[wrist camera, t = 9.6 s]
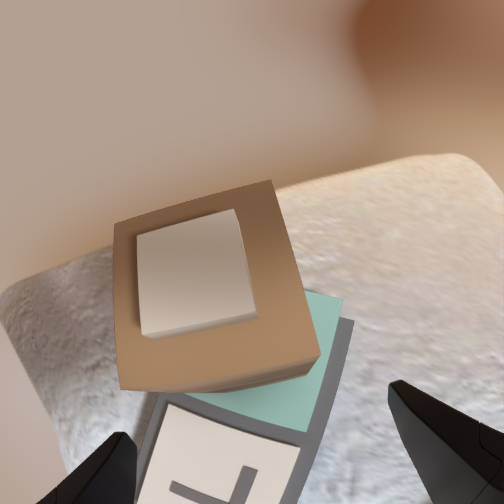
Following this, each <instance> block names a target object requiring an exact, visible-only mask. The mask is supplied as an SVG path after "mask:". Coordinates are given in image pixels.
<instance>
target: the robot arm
mask: <svg viewBox="0 0 504 504" xmlns="http://www.w3.org/2000/svg"><path fill="white" fill-rule="evenodd" d="M388 404H389V407H390V410H391V413H392V415H393V418H394V421H395V423H396V426H397V429H398V432H399V435H400V437H401V440H402V442H403V444H404V446H405V448H406V450H407V452H408V454H409V456H410V458H411V460H412V462H413V464H414V466H415V468H416V470H417V472H418V474H419V476H420V478H421V480H422V482H423V484H424V486H425V488H426V490H427V492H428V494H429V496H430V498H431V500H432V502H433V504H504V433H502V432H499V431H497V430H495V429H493V428H491V427H489V426H487V425H485V424H483V423H479V421H477V420H475V419H473V418H471V417H469V416H467V415H465V414H464V413H462V412H460V411H458V410H456V409H454V408H452V407H450V406H449V405H447V404H445V403H443V402H441V401H439V400H437V399H436V398H434V397H432V396H430V395H428V394H427V393H425V392H423V391H421V390H419V389H417V388H416V387H414V386H412V385H410V384H409V383H407V382H405V381H403V380H397V381H394V382H391V383H390V384H389V386H388ZM136 481H137V446H136V444H135V443H134V442H133V441H132V439H131V438H130V437H129V436H128V434H127V433H125V432H114V433H113V434H112V435H111V436H110V437H109V438H108V439H107V440H106V441H105V442H104V443H103V444H102V445H100V446H99V447H98V448H97V449H96V450H95V451H94V452H93V453H92V454H91V455H90V456H89V457H88V458H87V459H86V460H85V461H84V462H82V463H81V464H80V465H79V466H78V467H77V468H76V469H75V470H74V471H73V472H72V473H71V474H70V475H68V476H67V477H66V478H65V479H64V480H63V481H62V482H61V483H60V484H59V485H57V487H55V488H54V489H53V490H52V491H51V492H50V493H48V494H47V495H46V496H45V497H44V498H43V499H41V500H40V501H39V502H38V503H36V504H134V499H135V492H136Z"/></svg>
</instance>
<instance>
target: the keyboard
mask: <svg viewBox="0 0 504 504" xmlns="http://www.w3.org/2000/svg"><path fill="white" fill-rule="evenodd" d="M304 292H305V295H306V299H307V303H308V306H309V310H310V314H311V317H312V321H313V325H314V328H315V332H316V336H317V340H318V344H319V347H320V351H321V355H320V357H319V358H318V360H317V361H316V363H315V364H314V365H313V367H312V368H311V370H310V371H309V373H308V374H307V375H306V376H304V377H300V378H296V379H292V380H287V381H283V382H279V383H274V384H270V385H265V386H260V387H255V388H250V389H245V390H239V391H234V392H228V393H167V392H159V395H158V398H157V401H156V404H155V407H154V410H153V413H152V416H151V419H150V422H149V425H148V428H147V431H146V435H145V438H144V441H143V444H142V447H141V450H140V454H139V457H138V460H137V481H136V492H135V499H134V504H297V501H298V499H299V497H300V494H301V492H302V490H303V487H304V485H305V482H306V480H307V477H308V475H309V472H310V470H311V467H312V464H313V462H314V459H315V456H316V453H317V451H318V448H319V445H320V442H321V439H322V436H323V434H324V431H325V428H326V424H327V421H328V418H329V415H330V412H331V409H332V405H333V402H334V399H335V395H336V392H337V389H338V385H339V381H340V378H341V374H342V370H343V367H344V363H345V359H346V355H347V351H348V347H349V343H350V339H351V334H352V330H353V325H354V320H350V319H345V318H341V317H339V315H340V311H341V306H342V302H343V299H339V298H335V297H330V296H326V295H322V294H317V293H313V292H309V291H305V290H304Z"/></svg>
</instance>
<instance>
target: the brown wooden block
mask: <svg viewBox="0 0 504 504" xmlns="http://www.w3.org/2000/svg"><path fill="white" fill-rule="evenodd" d="M114 225H115V226H114V247H113V302H114V326H115V341H116V354H117V365H118V374H119V383H120V390H131V391H146V392H167V393H228V392H234V391H239V390H245V389H250V388H255V387H260V386H265V385H270V384H274V383H279V382H283V381H287V380H292V379H296V378H300V377H304V376H306V375H307V374H308V373H309V371H310V370H311V368H312V367H313V365H314V364H315V363H316V361H317V360H318V358H319V357H320V355H321V351H320V347H319V344H318V340H317V336H316V332H315V328H314V325H313V321H312V317H311V314H310V310H309V306H308V303H307V299H306V295H305V292H304V288H303V285H302V281H301V278H300V274H299V271H298V267H297V264H296V260H295V257H294V253H293V250H292V247H291V243H290V240H289V236H288V233H287V230H286V226H285V223H284V220H283V217H282V213H281V210H280V207H279V204H278V200H277V197H276V194H275V191H274V188H273V185H272V182H271V180H267V181H263V182H259V183H255V184H251V185H247V186H243V187H239V188H235V189H231V190H227V191H223V192H220V193H216V194H212V195H208V196H205V197H202V198H198V199H194V200H191V201H187V202H184V203H180V204H177V205H173V206H170V207H167V208H163V209H160V210H157V211H153V212H150V213H147V214H144V215H140V216H138V217H134V218H131V219H128V220H125V221H122V222H119V223H116V224H114Z"/></svg>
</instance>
